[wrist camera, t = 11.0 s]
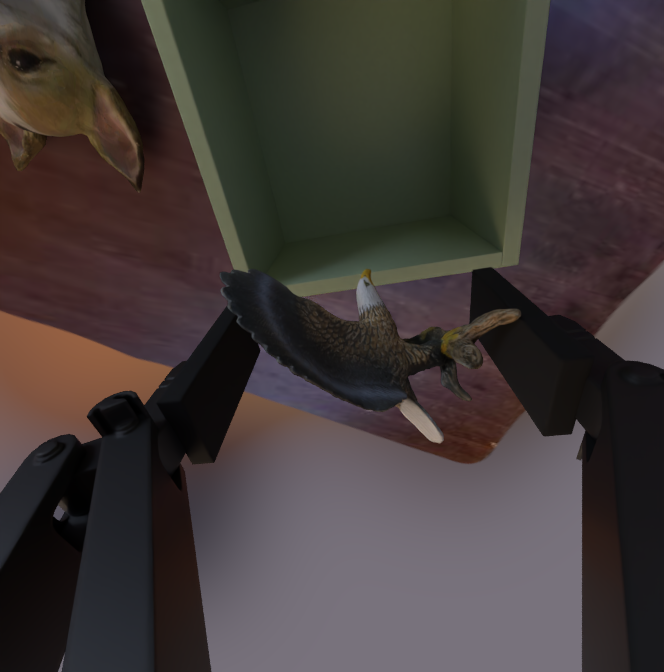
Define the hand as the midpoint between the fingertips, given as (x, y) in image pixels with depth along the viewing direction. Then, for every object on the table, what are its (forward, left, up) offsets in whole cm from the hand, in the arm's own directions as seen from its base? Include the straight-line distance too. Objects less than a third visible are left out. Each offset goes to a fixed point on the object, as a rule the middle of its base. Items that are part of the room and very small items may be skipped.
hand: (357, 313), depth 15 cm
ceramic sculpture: (-18, +15, -16) cm, 28 cm away
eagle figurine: (0, 0, 0) cm, 0 cm away
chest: (+1, +8, -16) cm, 18 cm away
